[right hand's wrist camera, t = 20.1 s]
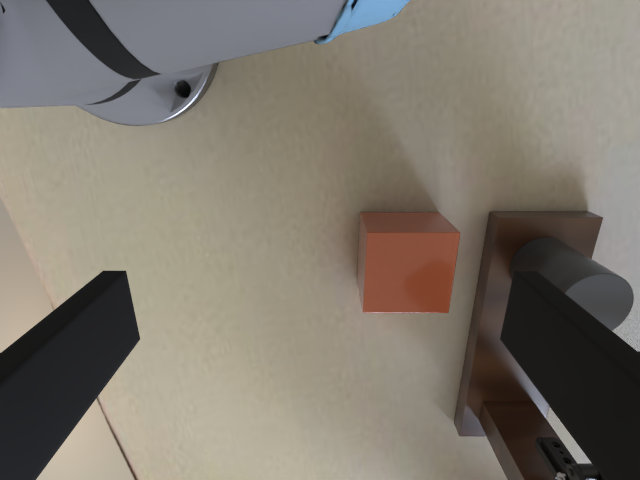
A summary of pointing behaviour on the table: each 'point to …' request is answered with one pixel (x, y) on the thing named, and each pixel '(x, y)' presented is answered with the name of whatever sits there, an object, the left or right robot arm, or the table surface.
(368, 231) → the terracotta cap
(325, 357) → the table surface
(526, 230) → the walnut stand
